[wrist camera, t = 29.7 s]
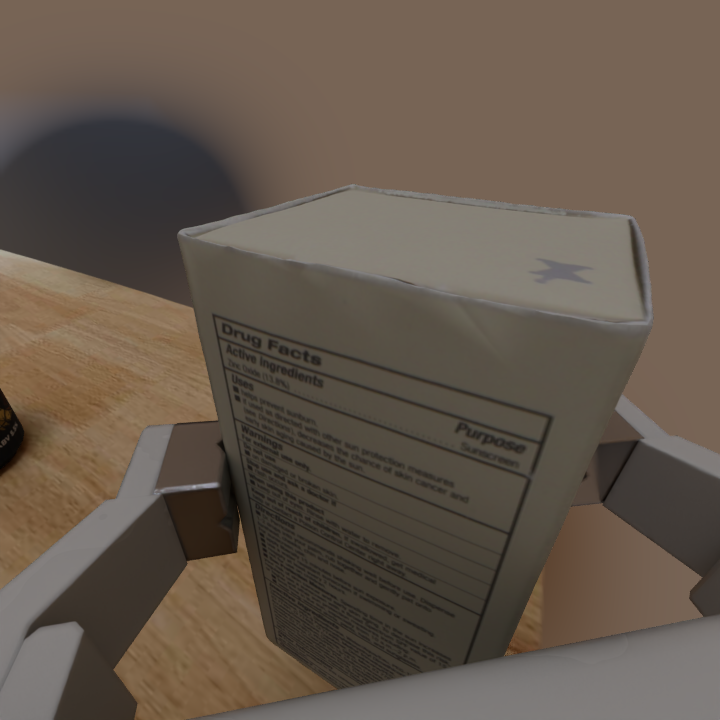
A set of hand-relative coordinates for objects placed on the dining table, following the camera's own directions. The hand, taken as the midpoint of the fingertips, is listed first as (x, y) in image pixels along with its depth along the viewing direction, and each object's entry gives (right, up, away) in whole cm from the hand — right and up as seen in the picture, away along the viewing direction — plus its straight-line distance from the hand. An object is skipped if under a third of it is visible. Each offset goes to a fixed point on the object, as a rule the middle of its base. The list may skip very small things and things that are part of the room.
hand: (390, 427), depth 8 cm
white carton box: (0, -5, +2) cm, 6 cm away
